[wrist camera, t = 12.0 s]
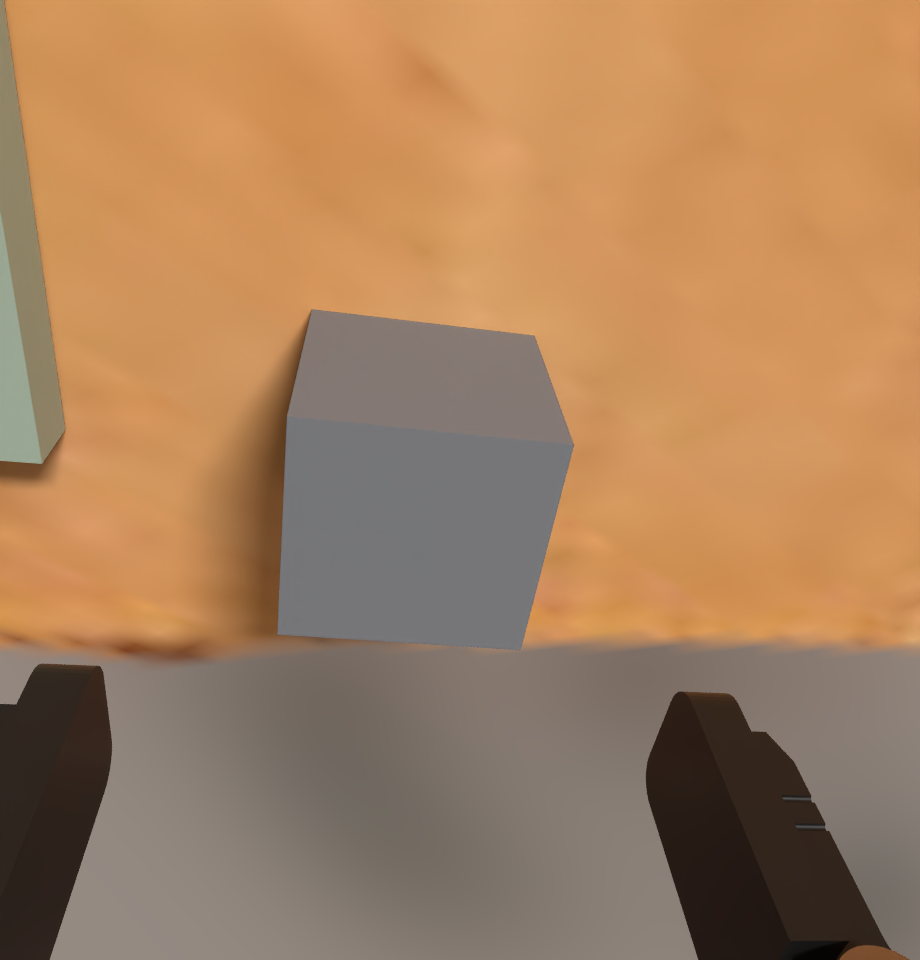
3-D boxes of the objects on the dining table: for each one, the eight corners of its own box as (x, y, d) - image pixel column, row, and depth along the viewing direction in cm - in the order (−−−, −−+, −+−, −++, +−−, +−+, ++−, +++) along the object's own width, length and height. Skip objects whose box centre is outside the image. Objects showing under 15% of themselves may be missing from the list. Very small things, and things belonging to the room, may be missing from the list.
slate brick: (534, 334, 19) (574, 444, 15) (496, 512, 21) (520, 650, 17) (312, 307, 18) (287, 415, 14) (301, 495, 21) (277, 634, 16)
